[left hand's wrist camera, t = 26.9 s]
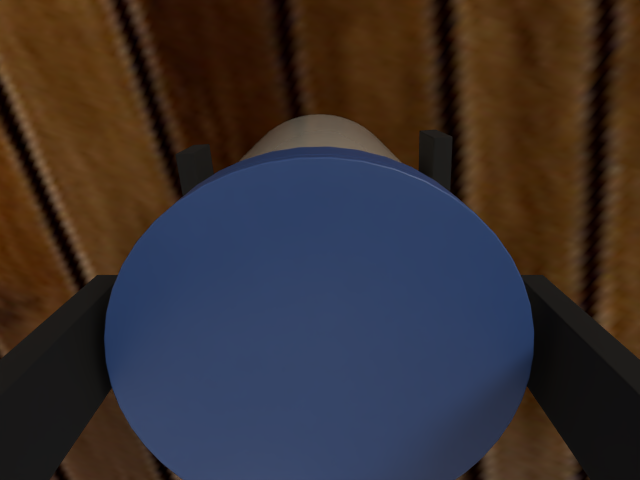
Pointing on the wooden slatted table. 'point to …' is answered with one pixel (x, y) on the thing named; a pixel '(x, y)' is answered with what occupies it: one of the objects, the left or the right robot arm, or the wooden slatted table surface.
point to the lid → (319, 325)
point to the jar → (319, 136)
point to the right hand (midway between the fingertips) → (313, 141)
